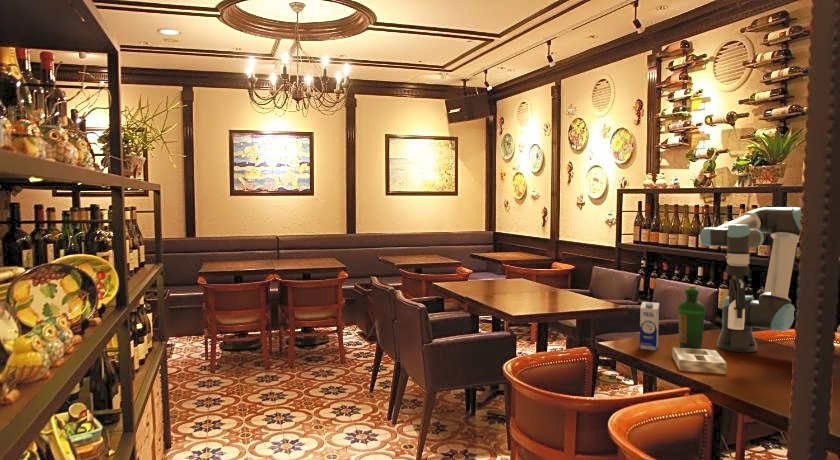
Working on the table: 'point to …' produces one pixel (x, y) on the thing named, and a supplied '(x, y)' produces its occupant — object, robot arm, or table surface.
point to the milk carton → (649, 326)
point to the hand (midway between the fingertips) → (736, 324)
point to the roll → (732, 314)
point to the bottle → (691, 320)
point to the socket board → (699, 360)
